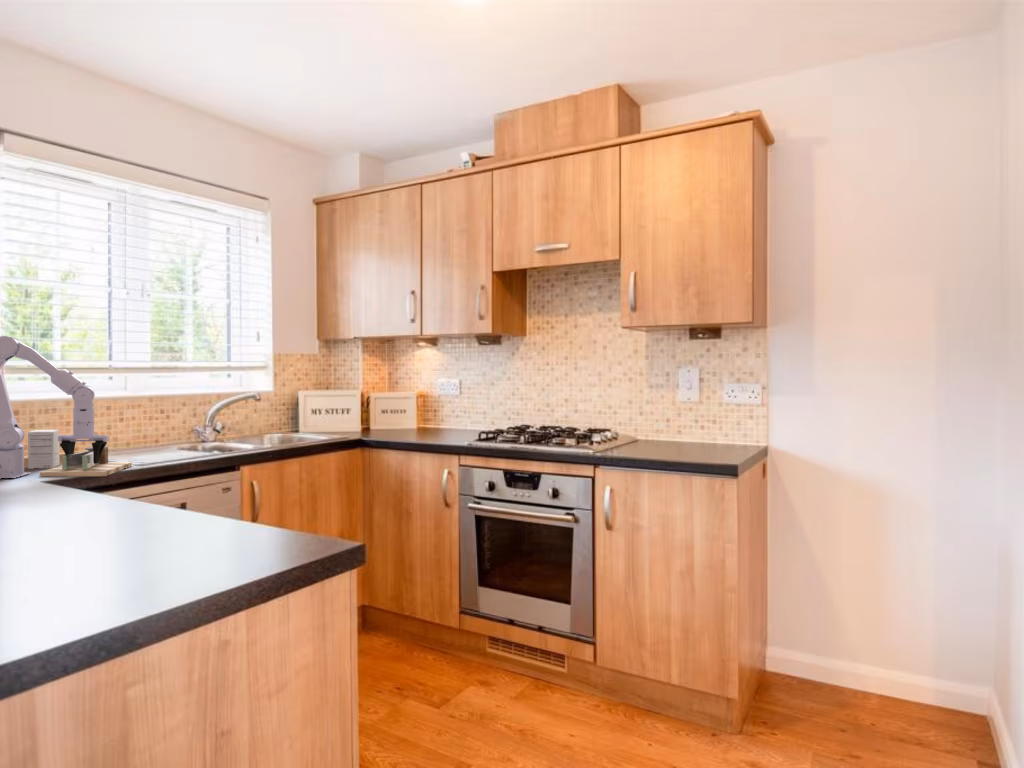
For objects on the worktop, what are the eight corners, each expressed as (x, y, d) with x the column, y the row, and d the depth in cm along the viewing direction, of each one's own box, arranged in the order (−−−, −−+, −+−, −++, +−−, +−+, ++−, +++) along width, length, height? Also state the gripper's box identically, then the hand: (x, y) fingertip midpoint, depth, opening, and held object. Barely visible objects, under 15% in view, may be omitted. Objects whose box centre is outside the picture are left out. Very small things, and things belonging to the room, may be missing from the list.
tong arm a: (87, 469, 202) (87, 455, 202) (82, 469, 202) (82, 455, 202) (100, 463, 215) (100, 449, 215) (95, 463, 215) (95, 450, 215)
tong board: (105, 476, 201) (105, 454, 201) (39, 476, 198) (39, 454, 198) (132, 466, 221) (132, 446, 221) (72, 466, 217) (72, 446, 217)
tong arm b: (66, 470, 201) (66, 455, 201) (62, 469, 201) (62, 455, 201) (94, 463, 215) (94, 450, 215) (91, 463, 215) (91, 449, 215)
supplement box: (34, 465, 218) (35, 429, 218) (60, 464, 221) (60, 429, 220) (27, 469, 211) (27, 431, 211) (53, 468, 214) (53, 431, 214)
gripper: (52, 423, 202) (52, 465, 202) (102, 423, 204) (101, 464, 204) (64, 421, 209) (64, 461, 209) (112, 421, 211) (111, 461, 211)
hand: (83, 463), depth 207 cm, fingers open, 7 cm apart
